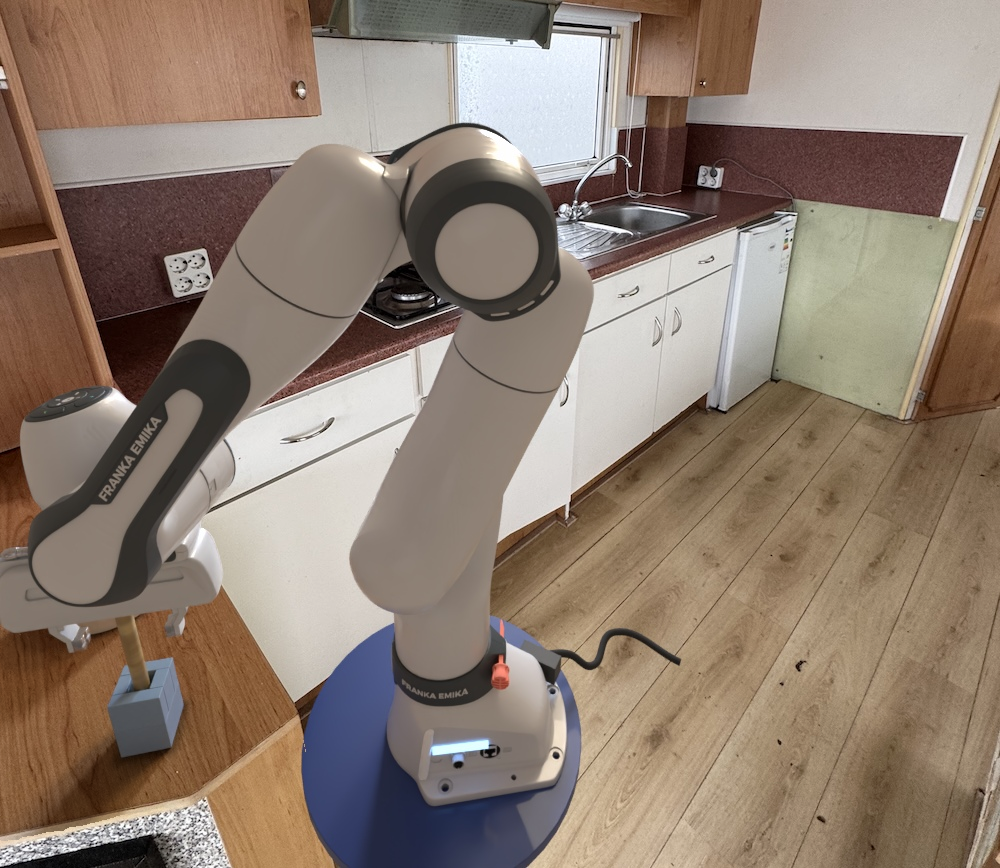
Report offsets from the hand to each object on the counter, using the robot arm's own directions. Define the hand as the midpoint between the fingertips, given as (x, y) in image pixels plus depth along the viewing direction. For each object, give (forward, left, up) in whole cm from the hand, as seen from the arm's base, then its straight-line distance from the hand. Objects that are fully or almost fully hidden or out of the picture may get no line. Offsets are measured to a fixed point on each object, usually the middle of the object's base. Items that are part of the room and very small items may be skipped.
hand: (129, 639), depth 64 cm
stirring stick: (0, 0, -10) cm, 10 cm away
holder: (0, 0, -14) cm, 14 cm away
